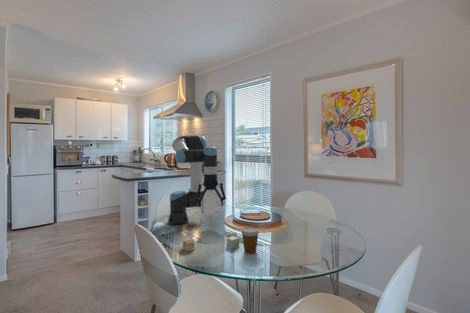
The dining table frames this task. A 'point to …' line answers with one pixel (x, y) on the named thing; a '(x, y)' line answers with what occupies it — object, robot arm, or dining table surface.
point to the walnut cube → (232, 234)
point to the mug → (210, 204)
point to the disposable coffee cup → (250, 239)
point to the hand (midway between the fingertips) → (210, 212)
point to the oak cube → (188, 244)
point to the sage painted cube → (232, 242)
